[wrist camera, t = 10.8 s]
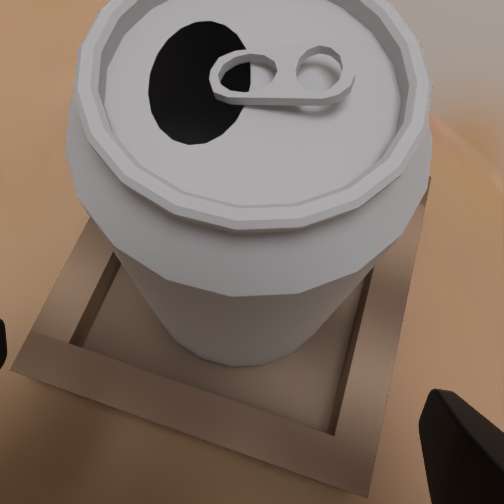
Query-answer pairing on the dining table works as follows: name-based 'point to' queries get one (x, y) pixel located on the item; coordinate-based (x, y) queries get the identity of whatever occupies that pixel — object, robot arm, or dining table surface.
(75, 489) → the dining table surface
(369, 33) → the can
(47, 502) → the dining table surface
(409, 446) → the dining table surface
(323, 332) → the brown wooden tray
